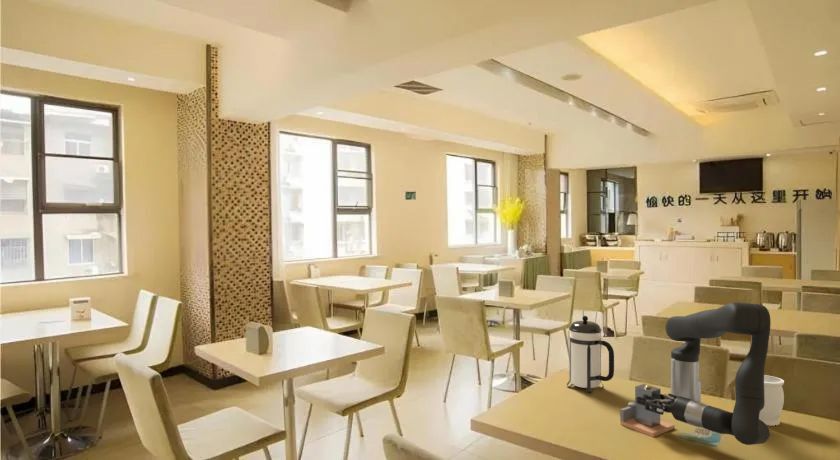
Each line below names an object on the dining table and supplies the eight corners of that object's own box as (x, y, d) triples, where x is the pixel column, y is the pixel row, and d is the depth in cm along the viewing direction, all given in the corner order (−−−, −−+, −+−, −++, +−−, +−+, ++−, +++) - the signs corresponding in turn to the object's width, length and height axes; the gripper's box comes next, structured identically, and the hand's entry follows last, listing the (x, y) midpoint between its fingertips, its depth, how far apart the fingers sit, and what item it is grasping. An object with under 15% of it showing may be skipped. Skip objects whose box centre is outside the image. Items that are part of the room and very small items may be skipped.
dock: (638, 415, 177) (639, 399, 177) (674, 428, 166) (674, 410, 166) (618, 423, 171) (618, 406, 171) (653, 437, 160) (653, 418, 160)
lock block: (643, 418, 172) (644, 382, 172) (660, 424, 167) (660, 387, 167) (635, 421, 169) (635, 384, 169) (651, 427, 164) (651, 389, 164)
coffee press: (569, 393, 200) (569, 319, 200) (564, 380, 216) (564, 312, 215) (614, 395, 197) (614, 320, 197) (606, 382, 213) (606, 313, 212)
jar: (779, 418, 174) (780, 375, 174) (787, 429, 165) (787, 384, 164) (743, 413, 179) (744, 372, 178) (749, 424, 169) (749, 380, 169)
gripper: (704, 396, 159) (656, 382, 172) (679, 405, 151) (631, 390, 165) (704, 419, 159) (656, 403, 173) (679, 429, 151) (631, 412, 165)
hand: (644, 397), depth 169 cm, fingers open, 8 cm apart
